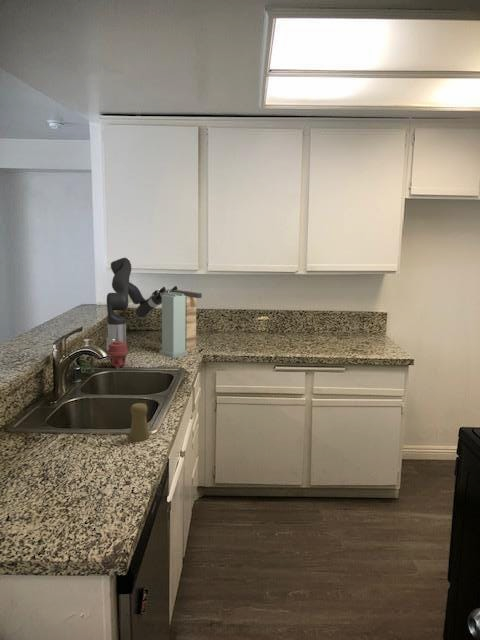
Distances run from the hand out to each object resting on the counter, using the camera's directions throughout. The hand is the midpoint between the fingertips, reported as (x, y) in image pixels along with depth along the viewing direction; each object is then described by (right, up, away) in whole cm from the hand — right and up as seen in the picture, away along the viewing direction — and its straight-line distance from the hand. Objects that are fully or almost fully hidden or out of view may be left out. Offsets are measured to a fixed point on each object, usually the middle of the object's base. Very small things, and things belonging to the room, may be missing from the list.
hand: (170, 287), depth 279 cm
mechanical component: (-19, -41, -47) cm, 65 cm away
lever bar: (+10, -5, -10) cm, 15 cm away
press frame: (+4, -37, -19) cm, 42 cm away
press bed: (+9, -35, -4) cm, 36 cm away
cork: (+8, -56, -128) cm, 140 cm away
